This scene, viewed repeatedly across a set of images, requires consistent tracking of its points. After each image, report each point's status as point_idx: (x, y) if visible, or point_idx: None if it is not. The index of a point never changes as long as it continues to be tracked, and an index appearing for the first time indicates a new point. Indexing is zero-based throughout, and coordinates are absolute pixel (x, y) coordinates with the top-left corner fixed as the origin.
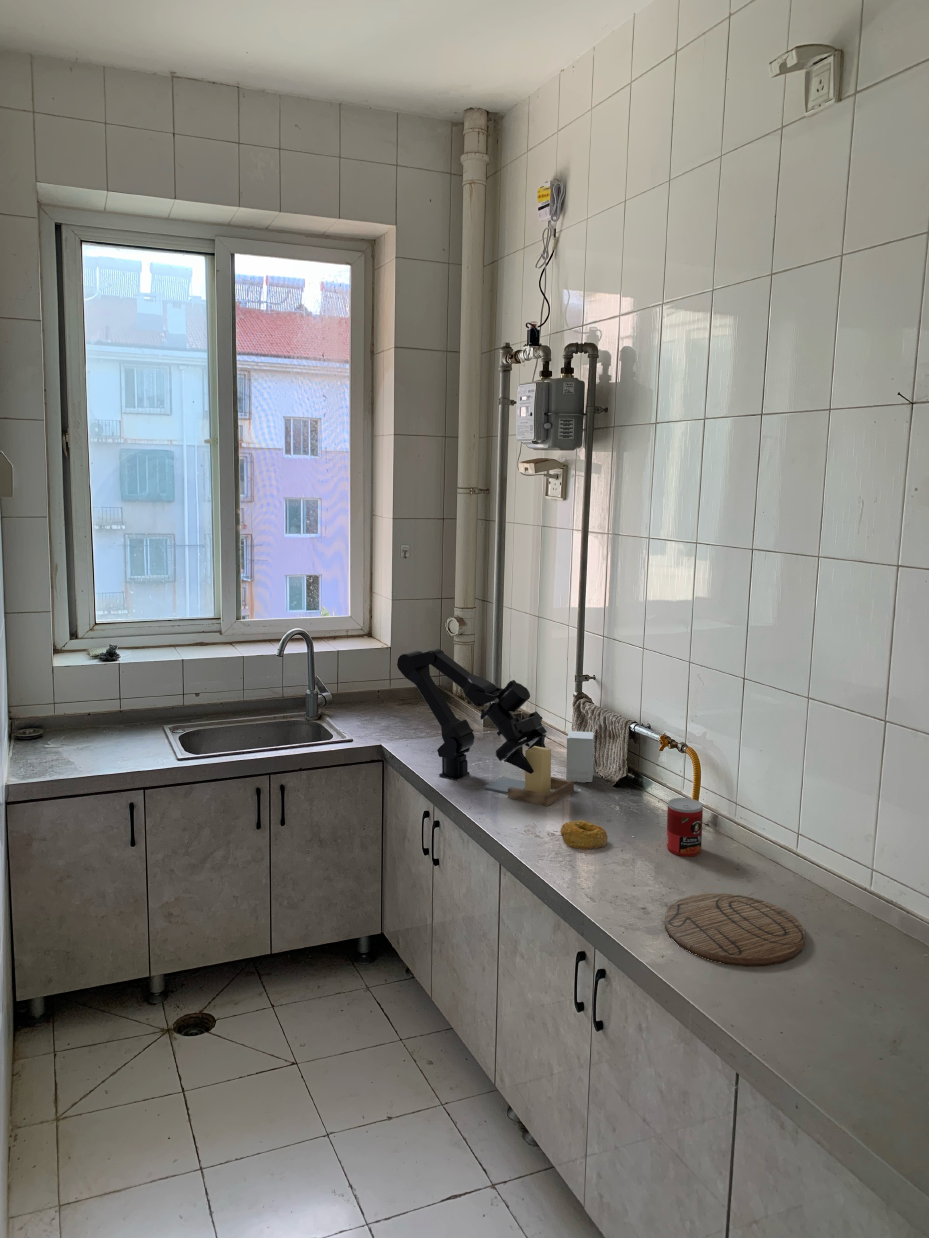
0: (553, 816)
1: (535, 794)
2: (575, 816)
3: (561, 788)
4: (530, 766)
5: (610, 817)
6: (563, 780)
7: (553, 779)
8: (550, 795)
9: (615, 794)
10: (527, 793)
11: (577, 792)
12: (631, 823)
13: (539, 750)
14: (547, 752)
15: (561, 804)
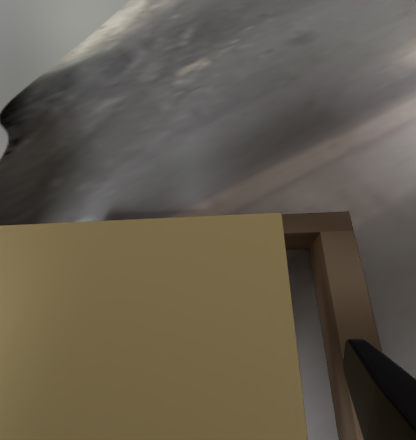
0: (412, 160)
1: (366, 289)
2: (346, 109)
3: None
4: (400, 384)
5: (276, 47)
6: None
7: None
8: (320, 214)
9: (83, 116)
10: (379, 350)
11: (112, 216)
12: (279, 4)
13: (81, 393)
14: (71, 235)
15: (274, 199)
